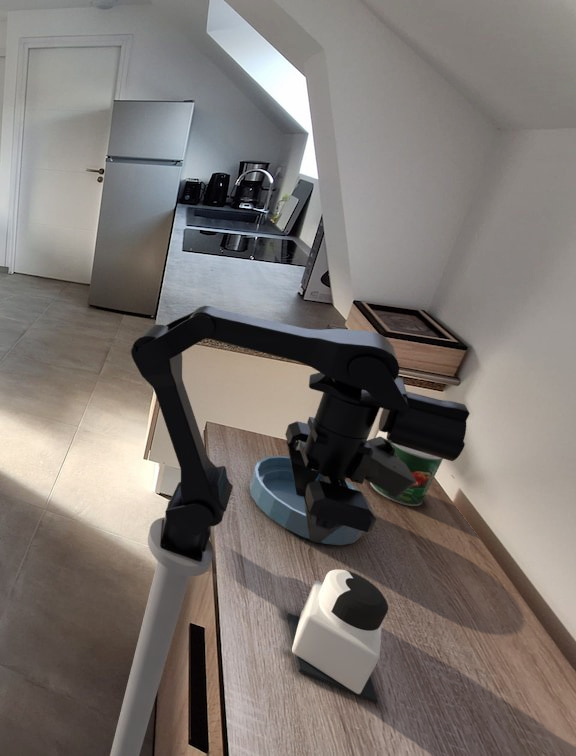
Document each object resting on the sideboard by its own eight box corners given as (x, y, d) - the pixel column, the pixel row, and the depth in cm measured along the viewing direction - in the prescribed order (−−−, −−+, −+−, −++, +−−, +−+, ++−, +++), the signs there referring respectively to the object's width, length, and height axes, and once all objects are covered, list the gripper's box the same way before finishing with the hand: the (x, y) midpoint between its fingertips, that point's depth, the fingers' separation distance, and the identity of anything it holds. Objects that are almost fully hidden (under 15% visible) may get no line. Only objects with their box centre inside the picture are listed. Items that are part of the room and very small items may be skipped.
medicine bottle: (364, 651, 60) (397, 586, 55) (359, 697, 55) (395, 629, 50) (300, 614, 64) (326, 551, 60) (290, 653, 59) (318, 587, 55)
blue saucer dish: (253, 525, 79) (261, 503, 78) (244, 465, 94) (250, 446, 92) (374, 563, 73) (386, 540, 71) (344, 493, 88) (353, 472, 86)
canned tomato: (410, 483, 91) (432, 438, 87) (430, 511, 84) (454, 463, 80) (362, 472, 94) (381, 427, 90) (378, 498, 87) (399, 451, 83)
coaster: (298, 671, 58) (299, 668, 57) (287, 615, 64) (288, 612, 64) (376, 703, 55) (378, 700, 54) (356, 641, 61) (357, 638, 61)
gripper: (457, 492, 48) (403, 595, 54) (391, 405, 64) (355, 492, 70) (331, 461, 52) (294, 559, 58) (299, 387, 68) (272, 470, 74)
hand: (307, 516), depth 65 cm, fingers open, 9 cm apart
